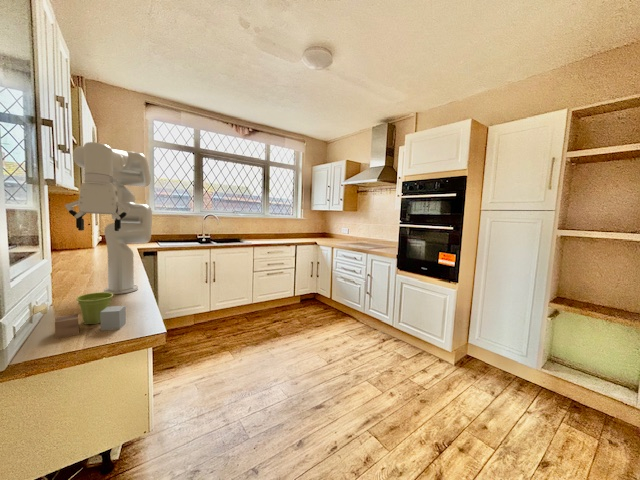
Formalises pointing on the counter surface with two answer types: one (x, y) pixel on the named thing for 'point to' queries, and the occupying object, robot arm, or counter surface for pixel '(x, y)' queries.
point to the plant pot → (93, 306)
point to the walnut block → (66, 326)
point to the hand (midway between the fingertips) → (99, 230)
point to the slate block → (113, 317)
